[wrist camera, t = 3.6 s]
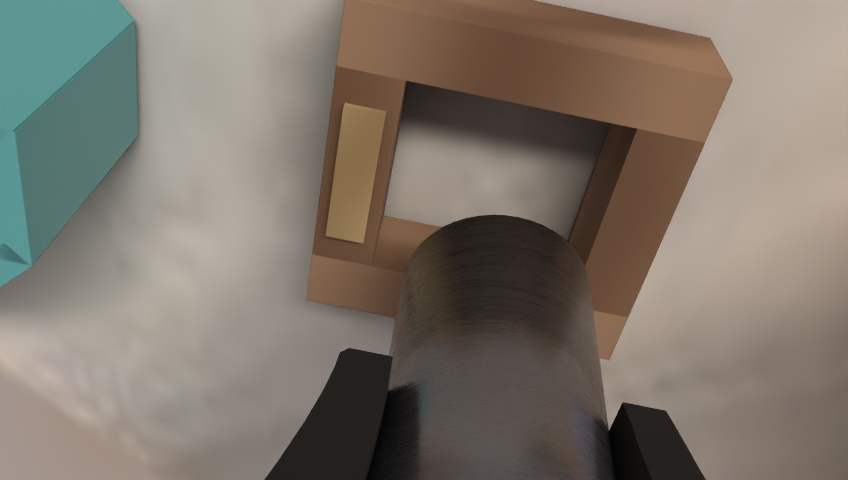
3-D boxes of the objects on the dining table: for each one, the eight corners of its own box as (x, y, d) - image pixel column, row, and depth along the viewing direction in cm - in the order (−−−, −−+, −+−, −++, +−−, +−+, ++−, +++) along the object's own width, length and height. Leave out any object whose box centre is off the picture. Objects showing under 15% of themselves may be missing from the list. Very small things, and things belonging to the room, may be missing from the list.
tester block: (710, 38, 16) (735, 83, 14) (601, 304, 20) (610, 365, 18) (362, -36, 16) (343, 0, 14) (323, 248, 20) (304, 305, 18)
